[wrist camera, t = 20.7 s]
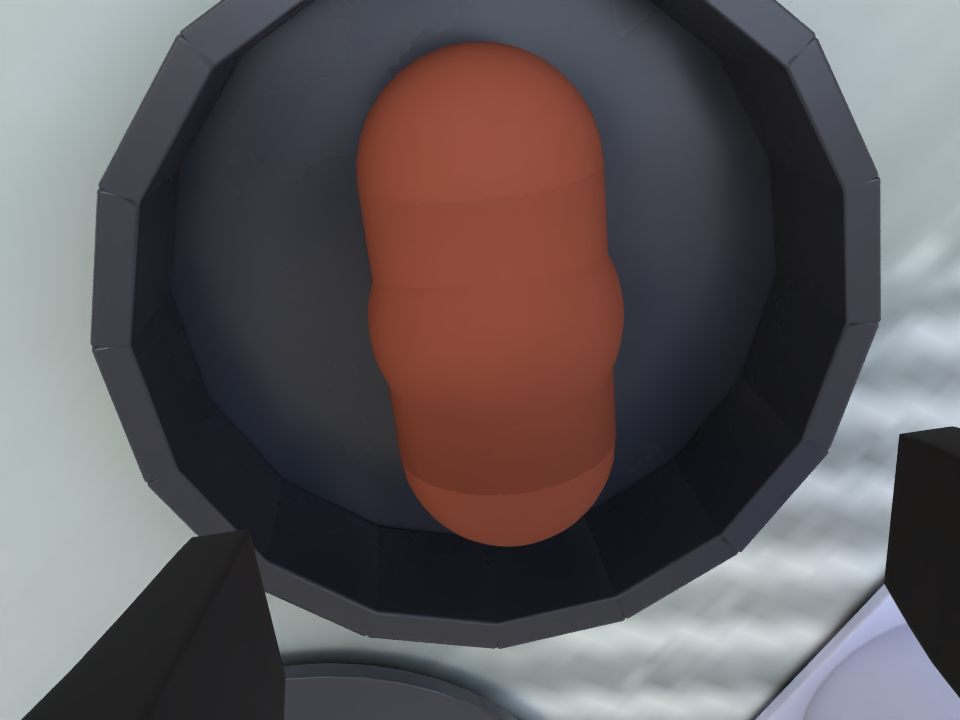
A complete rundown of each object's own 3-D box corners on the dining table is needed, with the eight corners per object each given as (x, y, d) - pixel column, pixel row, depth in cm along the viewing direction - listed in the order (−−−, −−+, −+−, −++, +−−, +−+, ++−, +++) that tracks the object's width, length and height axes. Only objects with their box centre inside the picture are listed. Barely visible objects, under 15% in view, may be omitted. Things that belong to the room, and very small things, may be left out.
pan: (924, 179, 19) (1036, 218, 16) (552, 629, 23) (581, 735, 20) (374, -269, 15) (374, -340, 12) (28, 373, 19) (-46, 454, 16)
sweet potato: (331, 49, 17) (315, 72, 12) (579, 21, 17) (649, 33, 13) (401, 489, 21) (408, 624, 16) (601, 460, 21) (662, 585, 16)
